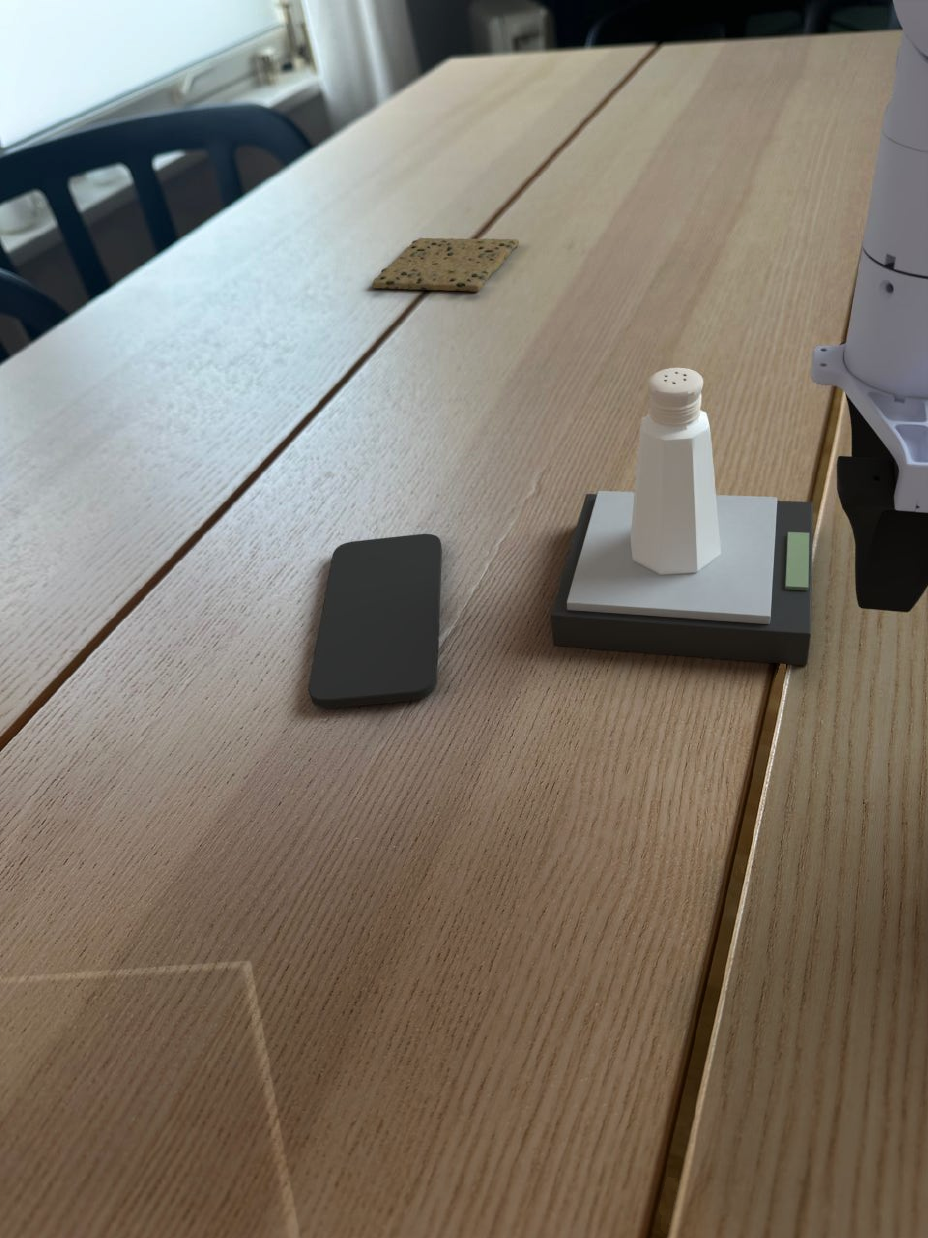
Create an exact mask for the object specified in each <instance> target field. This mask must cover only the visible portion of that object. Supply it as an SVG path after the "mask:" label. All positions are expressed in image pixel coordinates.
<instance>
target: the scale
mask: <svg viewBox="0 0 928 1238" xmlns="http://www.w3.org/2000/svg"><path fill="white" fill-rule="evenodd" d="M634 493H635V491H616V490H615V491H611V490H598V491H597V493H586V494H585V496H584V501H583V503H582V507H581V510H580V514H579V517H578V521H577V523H576V528H575V530H574V533H573V537H572V541H571V543H570V547H569V551H568V554H567V557H566V561H565V564H564V567H563V571H562V574H561V576H560V577H561V578H560V580H559V585H558V588H557V592H556V595H555V598H554V600H553V601H554V602H553V605H552V608H551V612H550V614H549V615H550V625H551V626H550V627H551V634H552V644H553V646H559V647H570V648H582V649H583V648H584V649H595V650H606V651H608V650H609V651H618V652H631V653H644V654H657V655H669V656H680V657H692V658H693V657H694V658H704V659H705V658H706V659H717V660H720V659H721V660H731V661H741V662H754V663H768V664H780V665H792V666H805V667H806V666H807V665H808V661H809V653H810V647H811V646H810V645H811V639H812V602H813V601H812V598H813V597H812V596H813V594H812V593H813V592H812V590H813V583H812V582H813V532H814V531H813V529H814V528H813V526H814V525H813V524H814V523H813V522H814V519H813V518H814V517H813V516H814V503H813V501H800V500H799V501H798V500H797V501H796V500H795V501H794V500H778V497H776V496H758V495H757V496H755V495H729V494H728V495H725V494H716V501H717V512H718V524H719V536H720V547H721V554H720V555H719V556H718V557H717V558H715V559H714V560H713V561H711V562H710V563H709V564H707V565H706V566H705V567H703V568H702V569H701V570H699V571H698V572H697V573H683V574H667V575H660V574H658V573H656V572H654V571H652V570H650V569H649V568H647V567H645V566H643V565H641V564H639V563H637V562H635V561H634V560H633V559H632V548H631V527H632V516H633V505H634Z"/></svg>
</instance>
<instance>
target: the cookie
mask: <svg viewBox="0 0 928 1238" xmlns="http://www.w3.org/2000/svg"><path fill="white" fill-rule="evenodd" d="M519 245H520V241H519V240H518V239H514V238H487V237H485V238H453V237H449V238H443V237H437V238H435V237H419V238H417V239H414V240H412V242H411V243H410V244H409V246H407V247H406V248H405V249H404V251H403V252H402V253H401V254H400V255H398V257H396V259H395V260H393V261H392V262H391V263H390V264H389V265H387V266H386V267H384V268H382V269H381V271H380V273H379V274H378V275H377V277H375V278H374V280H373V282H372V287H373V289H385V290H389V289H393V290H394V289H395V290H409V291H413V290H421V291H449V292H450V291H454V292H460V291H461V292H480V291H481V290H482V289H483V286H485V284H486V281H487V280H489V278H490V277H491V275H493V274H494V273H495V272H496V270H498V268H500V267H501V266H502V265H503V263H504V262H506V260H507V258H508V257H509V255H510V254H511V253H512V251H513V250H514V249H516V247H517V246H519Z"/></svg>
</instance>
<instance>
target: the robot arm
mask: <svg viewBox="0 0 928 1238" xmlns="http://www.w3.org/2000/svg"><path fill="white" fill-rule="evenodd" d="M892 3H893V8H894V11H895V14H896V17H897V20H898V22H899V24H900V27H901V29H902V32H901V37H900V45H899V46H898V48H897V51H896V56H895V62H894V79H893V85H892V91H891V97H890V100H889V102H888V103H887V104H886V106H885V109H884V111H883V116H882V124H881V130H880V136H879V142H878V149H877V154H876V159H875V166H874V173H873V178H872V183H871V191H870V196H869V202H868V206H867V214H866V219H865V226H864V233H863V237H862V246H861V251H860V256H859V262H858V268H857V274H856V281H855V287H854V293H853V300H852V304H851V305H852V306H851V311H850V317H849V323H848V328H847V334H846V335H847V336H846V340H845V341H843V342H841V343H840V344H834V345H831V344H830V345H828V344H825V345H819V346H816V347H815V348H814V349H813V350H812V355H811V361H810V379H811V381H812V382H813V383H814V384H817V385H821V386H833V387H837V388H839V389H841V390H842V391H843V392H844V395H845V399H846V402H847V407H848V412H849V418H850V419H849V420H850V430H851V431H850V432H851V434H850V435H851V447H850V448H851V454H850V455H851V456H850V455H839V456H837V461H836V490H837V495H838V499H839V502H840V505H841V508H842V510H843V512H844V514H845V515H846V517H847V519H848V522H849V524H850V527H851V530H852V535H853V540H854V584H855V585H854V587H855V597H856V602H857V605H858V608H860V609H863V610H875V611H886V612H896V613H909V612H911V611H912V609H914V607H915V606H916V604H917V603H918V602H919V600H920V599H921V597H922V596H923V594H924V593H925V592H926V590H927V589H928V0H892Z"/></svg>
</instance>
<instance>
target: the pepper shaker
mask: <svg viewBox="0 0 928 1238" xmlns="http://www.w3.org/2000/svg"><path fill="white" fill-rule="evenodd" d="M646 383H647V391H648V393H649V396H648V404H649V405H648V407H649V409H650V410H649V413H648V414H647V415H645V416H643V417H642V418H641V422H640V428H639V436H638V437H639V440H638V448H637V449H638V450H637V459H636V461H637V462H636V473H635V482H634V492H635V493H634V505H633V516H632V527H631V548H632V559H633V560H634V561H635V562H637V563H639V564H641V565H643V566H645V567H647V568H649V569H650V570H652V571H654V572H656V573H658V574H660V575H667V574H683V573H697V572H698V571H699V570H701V569H702V568H703V567H705V566H706V565H707V564H709V563H710V562H711V561H713V560H714V559H715V558H717V557H718V556H719V555H720V554H721V547H720V536H719V524H718V512H717V501H716V495H717V489H716V480H715V479H716V477H715V466H714V455H713V445H712V434H711V428H710V422H709V417H708V413H707V412H705V411H703V410H701V407H702V397H703V396H702V389H703V386H704V378H703V377H702V375H700V373H699V372H697V371H696V370H693V369H691V368H685V367H670V368H665V369H661V370H659V371H657V372H655V373H653V374H652V375H651V376H650V377H649V378H648V381H647V382H646Z"/></svg>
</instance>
